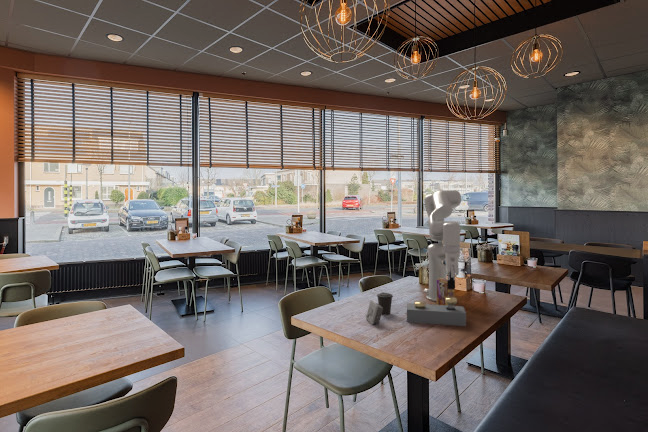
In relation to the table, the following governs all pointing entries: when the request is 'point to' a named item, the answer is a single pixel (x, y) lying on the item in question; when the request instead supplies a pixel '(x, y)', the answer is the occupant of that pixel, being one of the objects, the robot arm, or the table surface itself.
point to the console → (436, 315)
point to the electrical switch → (374, 313)
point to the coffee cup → (385, 302)
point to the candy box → (443, 291)
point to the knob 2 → (451, 302)
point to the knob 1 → (419, 304)
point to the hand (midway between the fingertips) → (451, 288)
